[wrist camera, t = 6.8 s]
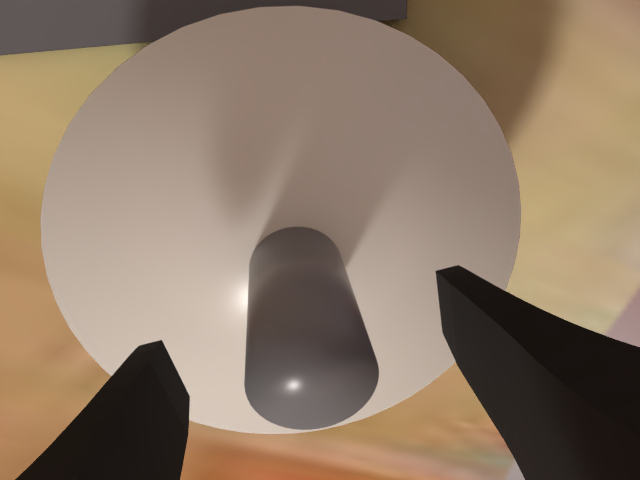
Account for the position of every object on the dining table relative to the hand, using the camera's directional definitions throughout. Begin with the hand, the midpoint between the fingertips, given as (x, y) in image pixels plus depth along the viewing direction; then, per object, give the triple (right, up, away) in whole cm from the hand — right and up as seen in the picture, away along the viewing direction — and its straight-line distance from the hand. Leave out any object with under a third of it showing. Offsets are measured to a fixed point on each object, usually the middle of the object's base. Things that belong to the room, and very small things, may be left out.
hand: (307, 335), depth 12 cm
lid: (-1, +2, +3) cm, 4 cm away
